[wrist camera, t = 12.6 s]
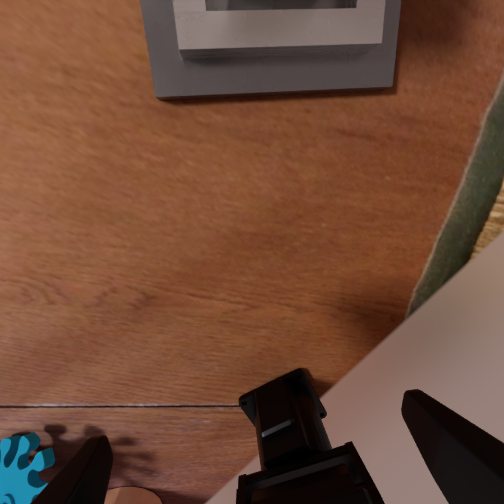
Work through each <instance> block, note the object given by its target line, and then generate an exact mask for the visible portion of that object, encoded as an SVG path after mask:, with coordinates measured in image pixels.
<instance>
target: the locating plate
mask: <svg viewBox="0 0 504 504" xmlns="http://www.w3.org/2000/svg"><path fill="white" fill-rule="evenodd" d="M140 3H141V9H142V15H143V21H144V28H145V34H146V40H147V46H148V52H149V59H150V65H151V71H152V77H153V84H154V90H155V96H156V98H157V99H158V100H175V99H197V98H219V97H241V96H263V95H284V94H306V93H328V92H350V91H371V90H384V89H387V88H390V87H392V85H393V76H394V66H395V57H396V47H397V37H398V28H399V18H400V9H401V0H140Z"/></svg>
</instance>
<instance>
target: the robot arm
mask: <svg viewBox="0 0 504 504" xmlns="http://www.w3.org/2000/svg"><path fill="white" fill-rule="evenodd" d="M298 375H299V376H298ZM243 401H245V402H243ZM239 406H240V407H241V408H242V410H243V411H244V413H245V414H246V415H247V417H248V418H249V419H250V421H251V422H252V423H253V425H254V426H255V427H256V434H257V442H258V450H259V457H260V465H261V471H259V472H255V473H252V474H249V475H246V474H244V475H241V476H239V479H238V489H237V493H236V494H237V495H236V504H385V503H384V501H383V499H382V497H381V495H380V493H379V491H378V489H377V487H376V485H375V484H374V482H373V480H372V478H371V476H370V474H369V473H368V471H367V469H366V467H365V465H364V463H363V461H362V459H361V458H360V456H359V454H358V452H357V450H356V448H355V447H354V445H353V443H352V441H351V442H347V443H345V445H343V446H340V447H336V448H333V449H332V447H331V444H330V441H329V439H328V436H327V434H326V431H325V428H324V426H323V423H322V421H321V419H323V418H325V417H326V415H327V413H326V410H325V408H324V407H323V405H322V403H321V401H320V399H319V398H318V396H317V394H316V392H315V391H314V389H313V387H312V385H311V384H310V382H309V380H308V378H307V377H306V375H305V373H304V371H303V370H301V369H297V370H295V371H293V372H291V373H288V374H286V375H284V376H282V377H280V378H278V379H276V380H274V381H272V382H270V383H268V384H266V385H264V386H261V387H259V388H257V389H255V390H253V391H251V392H249V393H247V394H245V395H243V396H241V397H240V398H239ZM401 412H402V416H403V418H404V421H405V423H406V425H407V427H408V429H409V430H410V433H411V435H412V437H413V439H414V441H415V443H416V445H417V447H418V449H419V451H420V453H421V455H422V457H423V459H424V461H425V463H426V465H427V467H428V469H429V471H430V473H431V474H432V476H433V478H434V480H435V481H436V483H437V485H438V486H439V488H440V490H441V491H442V493H443V495H444V496H445V498H446V500H447V501H448V503H449V504H504V443H503V442H501V441H500V440H498V439H496V438H495V437H493V436H492V435H490V434H489V433H487V432H485V431H484V430H482V429H481V428H479V427H478V426H476V425H475V424H473V423H471V422H470V421H468V420H467V419H465V418H464V417H462V416H460V415H459V414H457V413H456V412H454V411H453V410H451V409H449V408H448V407H446V406H445V405H443V404H442V403H440V402H438V401H437V400H435V399H434V398H432V397H430V396H429V395H427V394H426V393H424V392H423V391H421V390H418V389H414V390H407V391H406V392H405V393H404V397H403V403H402V408H401ZM112 465H113V452H112V449H111V446H110V443H109V440H108V438H107V436H106V435H99V436H93V437H90V438H89V439H88V440H87V441H86V442H85V443H84V444H83V445H82V446H81V447H80V449H79V450H78V451H77V452H76V453H75V454H74V455H73V456H72V458H71V459H70V460H69V461H68V462H67V463H66V464H65V465H64V466H63V468H62V469H61V470H60V471H59V472H58V473H57V474H56V475H55V476H54V478H53V479H52V480H51V481H50V482H49V483H48V484H47V485H46V486H45V488H44V489H43V490H42V491H41V492H40V493H39V494H38V495H37V496H36V498H35V499H34V500H33V501H32V502H31V503H30V504H104V503H105V498H106V493H107V488H108V484H109V479H110V474H111V470H112Z"/></svg>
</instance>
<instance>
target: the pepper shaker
mask: <svg viewBox="0 0 504 504" xmlns="http://www.w3.org/2000/svg"><path fill="white" fill-rule="evenodd" d="M104 504H162V502H161V500H160V498H159V497H158V496H157V495H155V494H154V493H153V492H151V491H148V490H146V489H143V488H137V487H119V488H115V489H111V490H108V491H107V493H106V498H105V503H104Z"/></svg>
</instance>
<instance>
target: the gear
mask: <svg viewBox="0 0 504 504" xmlns="http://www.w3.org/2000/svg"><path fill="white" fill-rule="evenodd" d="M39 444H40V438H39V437H38V435H37V434H35V433H34V432H33V433H30V434H27V435H24V436H20V435H16V436H12V437H8V438H5V439H2V441H1V445H0V504H30V503H31V502H32V501H33V500H34V499H35V498H36V496H37V495H38V494H39V493H40V492H41V491H42V490H43V489H44V488H45V486H46V485H47V484H48V483H49V482H50V481H49V482H44V481H42V480H41V479H40V478H39V471H42V470H44V469H46V468H48V467H51V466H52V465H53V464H54V463H55V456H54V452H53V449H52V447H50V448H48V449H45V450H42V451H40V452H38V453H37V454H36V455H35V458H34V460H33V461H32V463H31V464H29V461H28V458H29V454H30V452H31V451H33V450H35V449H37V448H38V446H39ZM17 450H18V451H17ZM16 452H17V454H16ZM15 454H16V456H15Z"/></svg>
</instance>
